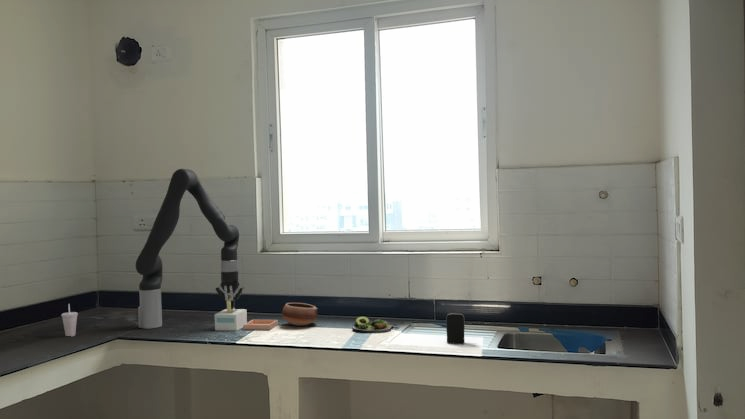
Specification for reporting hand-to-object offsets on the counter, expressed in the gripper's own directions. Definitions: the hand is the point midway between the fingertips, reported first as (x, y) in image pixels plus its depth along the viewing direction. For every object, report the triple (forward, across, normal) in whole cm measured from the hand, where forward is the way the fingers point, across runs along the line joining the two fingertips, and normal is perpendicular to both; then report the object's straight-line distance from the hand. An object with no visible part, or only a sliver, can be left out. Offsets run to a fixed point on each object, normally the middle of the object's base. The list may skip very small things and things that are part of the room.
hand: (230, 308), depth 269 cm
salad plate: (+9, +63, +2) cm, 64 cm away
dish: (+8, +14, +1) cm, 16 cm away
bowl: (+9, +30, +6) cm, 32 cm away
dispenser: (+8, 0, 0) cm, 8 cm away
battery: (+8, +100, -20) cm, 102 cm away
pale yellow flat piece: (+5, 0, +1) cm, 5 cm away
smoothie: (+9, -65, -20) cm, 68 cm away
